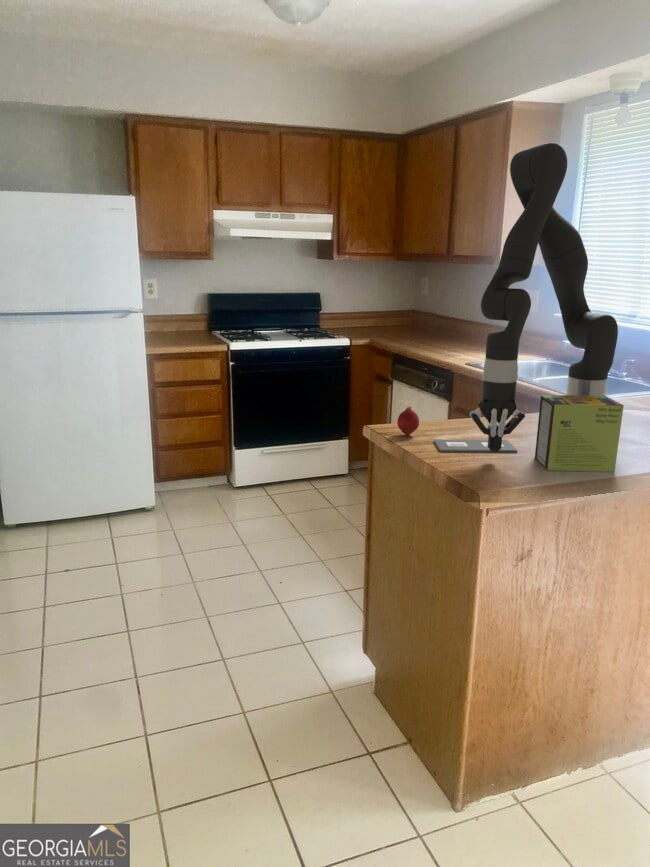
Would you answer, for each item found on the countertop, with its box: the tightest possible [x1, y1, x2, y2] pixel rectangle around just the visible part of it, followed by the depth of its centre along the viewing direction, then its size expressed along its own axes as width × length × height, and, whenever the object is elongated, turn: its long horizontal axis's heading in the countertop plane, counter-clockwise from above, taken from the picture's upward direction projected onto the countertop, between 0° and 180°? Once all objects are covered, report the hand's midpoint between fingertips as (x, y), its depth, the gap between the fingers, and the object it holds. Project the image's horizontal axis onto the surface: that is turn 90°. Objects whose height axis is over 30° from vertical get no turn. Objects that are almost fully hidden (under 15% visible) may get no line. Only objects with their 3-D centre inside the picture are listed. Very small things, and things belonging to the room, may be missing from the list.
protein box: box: [534, 394, 625, 473], centre depth 147 cm, size 10×15×16 cm
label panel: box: [433, 438, 518, 453], centre depth 162 cm, size 19×9×1 cm, turn 90°
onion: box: [396, 405, 420, 436], centre depth 171 cm, size 6×6×8 cm
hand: (493, 451), depth 150 cm, fingers closed
